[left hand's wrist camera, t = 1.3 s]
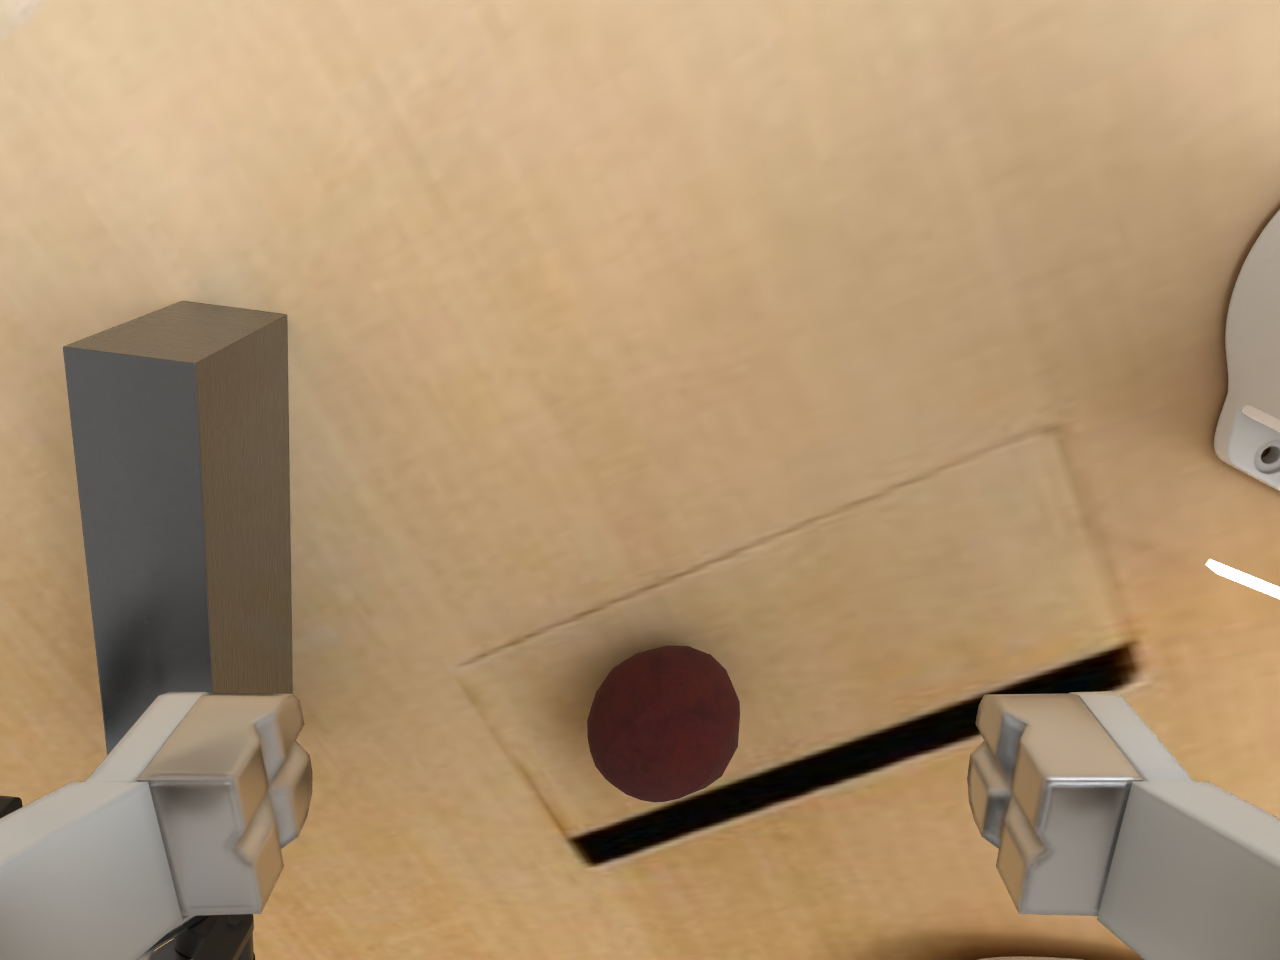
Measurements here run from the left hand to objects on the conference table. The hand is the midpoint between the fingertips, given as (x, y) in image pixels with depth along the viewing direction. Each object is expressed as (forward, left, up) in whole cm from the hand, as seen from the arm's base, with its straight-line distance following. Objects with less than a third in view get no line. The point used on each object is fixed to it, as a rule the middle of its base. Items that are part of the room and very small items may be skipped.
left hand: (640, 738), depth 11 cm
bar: (+8, +22, -31) cm, 39 cm away
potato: (-13, +15, -31) cm, 37 cm away
